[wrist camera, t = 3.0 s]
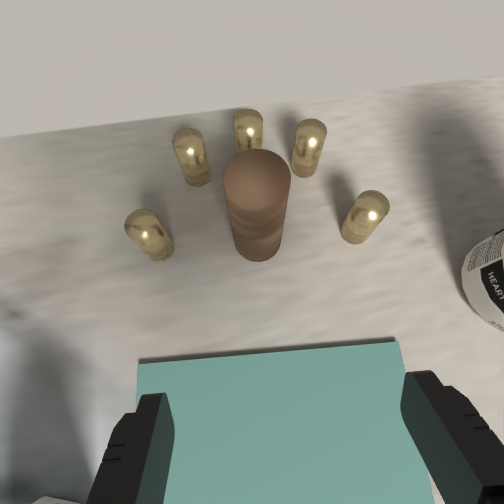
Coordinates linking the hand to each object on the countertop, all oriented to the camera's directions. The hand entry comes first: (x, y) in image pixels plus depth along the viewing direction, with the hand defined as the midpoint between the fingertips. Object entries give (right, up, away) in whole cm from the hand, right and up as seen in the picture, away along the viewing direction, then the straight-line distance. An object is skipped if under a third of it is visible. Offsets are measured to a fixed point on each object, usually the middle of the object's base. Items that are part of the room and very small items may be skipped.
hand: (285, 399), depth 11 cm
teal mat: (+1, -9, +12) cm, 15 cm away
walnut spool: (-1, +6, +18) cm, 19 cm away
